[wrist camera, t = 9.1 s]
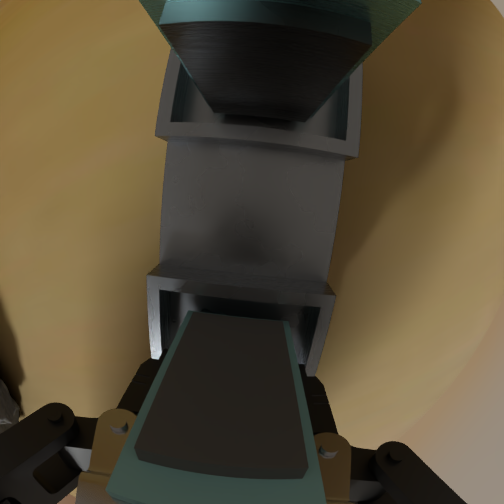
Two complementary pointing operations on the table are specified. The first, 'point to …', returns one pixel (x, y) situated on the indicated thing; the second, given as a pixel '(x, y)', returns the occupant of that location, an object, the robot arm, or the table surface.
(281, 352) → the block
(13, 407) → the stone
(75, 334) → the table surface
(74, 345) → the table surface
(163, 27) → the grey block holder
